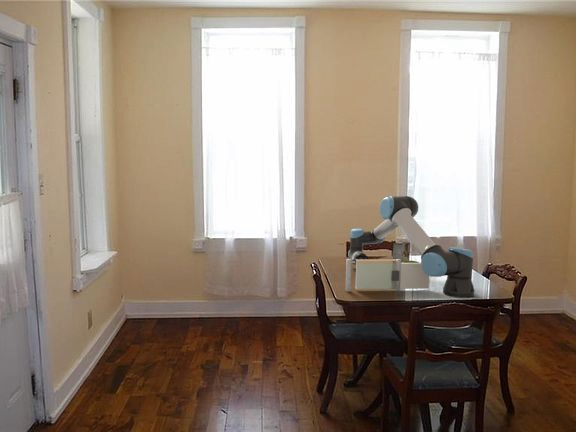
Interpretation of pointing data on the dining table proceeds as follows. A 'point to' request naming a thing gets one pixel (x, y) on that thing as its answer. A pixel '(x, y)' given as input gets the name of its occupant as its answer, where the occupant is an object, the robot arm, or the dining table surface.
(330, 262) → the dining table surface
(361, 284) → the gate
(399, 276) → the fence
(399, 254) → the coffee box
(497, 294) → the dining table surface
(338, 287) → the dining table surface
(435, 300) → the dining table surface
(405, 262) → the plant pot
